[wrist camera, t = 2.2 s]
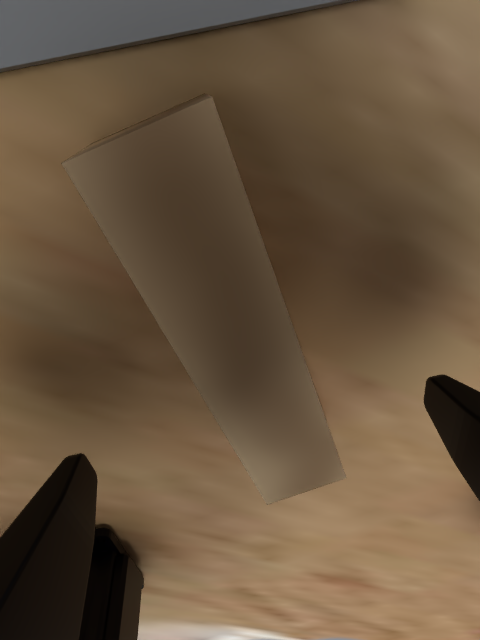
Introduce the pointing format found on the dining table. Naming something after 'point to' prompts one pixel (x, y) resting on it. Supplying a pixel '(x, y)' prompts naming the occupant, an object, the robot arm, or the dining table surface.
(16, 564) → the robot arm
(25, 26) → the fulcrum stand
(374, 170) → the dining table surface
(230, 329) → the oak batten
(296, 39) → the dining table surface
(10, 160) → the dining table surface
